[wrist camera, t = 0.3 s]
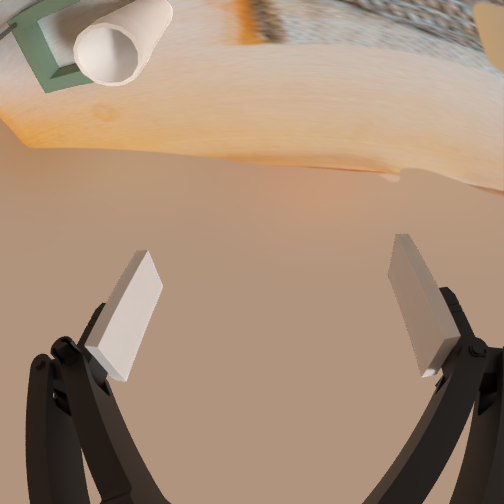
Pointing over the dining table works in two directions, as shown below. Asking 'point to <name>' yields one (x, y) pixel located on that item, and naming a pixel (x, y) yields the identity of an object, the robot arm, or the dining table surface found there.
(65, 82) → the putting pocket
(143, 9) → the foam cup
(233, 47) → the dining table surface
